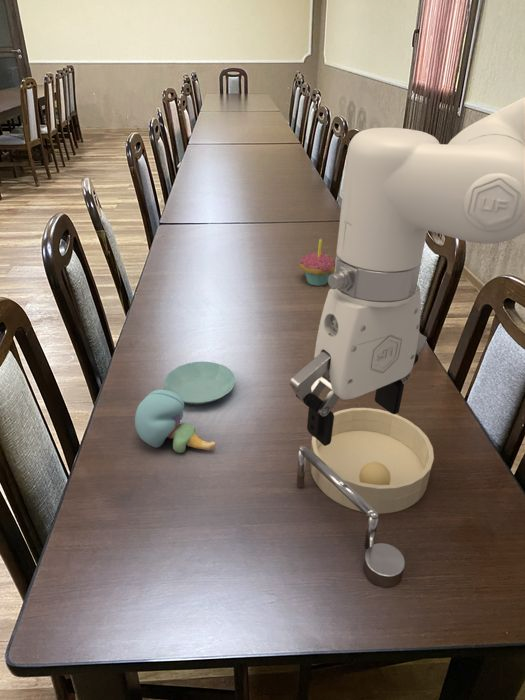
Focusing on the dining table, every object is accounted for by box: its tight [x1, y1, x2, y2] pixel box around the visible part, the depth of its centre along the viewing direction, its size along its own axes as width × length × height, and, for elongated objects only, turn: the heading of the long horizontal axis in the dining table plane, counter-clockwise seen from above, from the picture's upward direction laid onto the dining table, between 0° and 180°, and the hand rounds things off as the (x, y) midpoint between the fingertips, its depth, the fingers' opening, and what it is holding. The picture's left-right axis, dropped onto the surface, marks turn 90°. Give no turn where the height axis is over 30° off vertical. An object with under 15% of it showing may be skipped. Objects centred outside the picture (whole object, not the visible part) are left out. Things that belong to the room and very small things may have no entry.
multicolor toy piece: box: [134, 388, 216, 454], centre depth 77 cm, size 7×9×12 cm
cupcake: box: [299, 236, 336, 287], centre depth 126 cm, size 9×8×12 cm
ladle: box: [296, 445, 406, 588], centre depth 64 cm, size 18×4×7 cm, turn 34°
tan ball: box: [359, 462, 391, 485], centre depth 70 cm, size 4×4×4 cm
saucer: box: [163, 361, 236, 405], centre depth 90 cm, size 12×12×2 cm
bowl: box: [309, 407, 435, 515], centre depth 74 cm, size 16×16×4 cm
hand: (353, 421), depth 58 cm, fingers open, 9 cm apart
